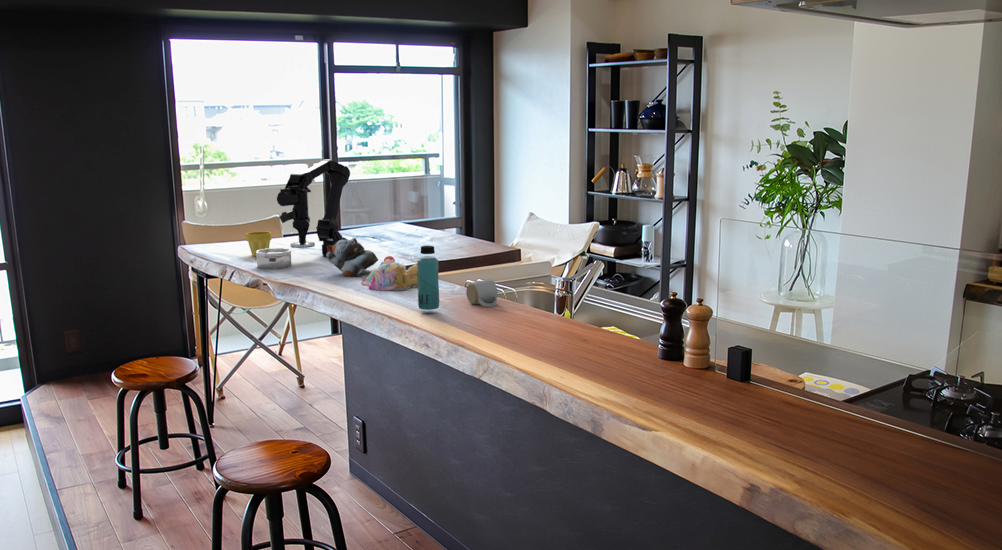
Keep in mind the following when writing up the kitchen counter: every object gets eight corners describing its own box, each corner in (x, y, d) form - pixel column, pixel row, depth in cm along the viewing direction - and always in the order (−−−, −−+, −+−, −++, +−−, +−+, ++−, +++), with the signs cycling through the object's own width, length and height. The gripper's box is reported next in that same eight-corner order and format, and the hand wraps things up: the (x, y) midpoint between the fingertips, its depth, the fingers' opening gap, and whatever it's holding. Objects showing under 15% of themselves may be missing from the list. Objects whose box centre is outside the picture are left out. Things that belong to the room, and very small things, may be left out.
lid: (315, 244, 311) (314, 231, 310) (314, 247, 301) (313, 234, 300) (291, 244, 308) (290, 232, 307) (289, 248, 299) (289, 235, 298)
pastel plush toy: (442, 282, 266) (442, 257, 265) (402, 295, 246) (401, 267, 245) (387, 275, 279) (386, 251, 277) (344, 287, 259) (343, 260, 257)
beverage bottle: (440, 309, 225) (439, 244, 221) (439, 314, 219) (438, 247, 215) (418, 309, 225) (417, 244, 221) (416, 315, 219) (415, 247, 215)
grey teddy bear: (352, 278, 271) (330, 241, 269) (335, 287, 281) (314, 251, 279) (385, 259, 282) (365, 223, 280) (368, 269, 292) (348, 234, 290)
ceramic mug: (464, 302, 234) (464, 279, 233) (486, 299, 239) (486, 277, 237) (481, 309, 226) (481, 286, 224) (503, 306, 230) (503, 283, 229)
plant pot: (246, 254, 325) (244, 231, 323) (270, 252, 329) (269, 230, 327) (248, 257, 316) (247, 234, 314) (274, 256, 320) (272, 233, 318)
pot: (292, 261, 307) (291, 246, 305) (290, 269, 289) (289, 253, 288) (259, 262, 304) (258, 247, 303) (255, 271, 286) (254, 255, 285)
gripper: (281, 202, 309) (283, 239, 312) (278, 206, 291) (280, 246, 294) (309, 201, 311) (310, 239, 314) (307, 206, 293) (309, 245, 296)
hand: (302, 242), depth 305 cm, fingers closed on lid, 3 cm apart
